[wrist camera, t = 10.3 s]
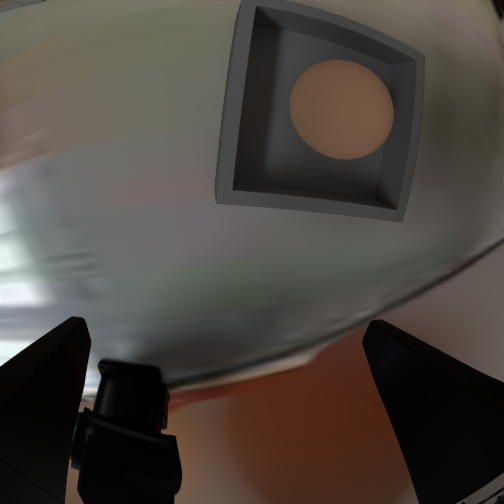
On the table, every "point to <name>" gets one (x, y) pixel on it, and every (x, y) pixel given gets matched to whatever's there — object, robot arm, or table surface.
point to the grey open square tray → (281, 126)
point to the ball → (341, 109)
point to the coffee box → (15, 3)
